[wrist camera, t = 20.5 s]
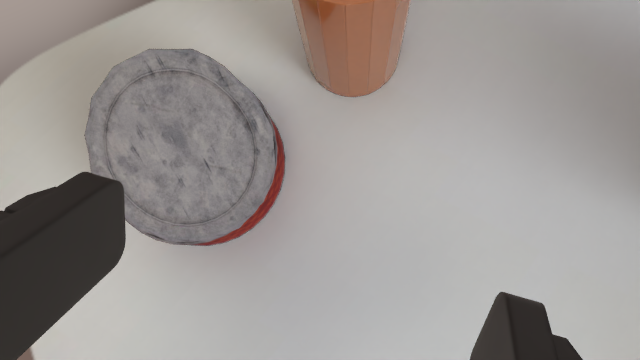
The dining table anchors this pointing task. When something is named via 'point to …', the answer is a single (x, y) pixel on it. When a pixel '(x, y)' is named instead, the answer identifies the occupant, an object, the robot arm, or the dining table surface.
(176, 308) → the dining table surface
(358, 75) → the tumbler
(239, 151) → the canned food
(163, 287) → the dining table surface
